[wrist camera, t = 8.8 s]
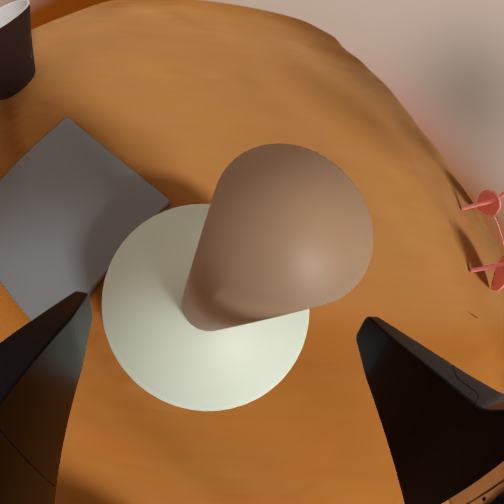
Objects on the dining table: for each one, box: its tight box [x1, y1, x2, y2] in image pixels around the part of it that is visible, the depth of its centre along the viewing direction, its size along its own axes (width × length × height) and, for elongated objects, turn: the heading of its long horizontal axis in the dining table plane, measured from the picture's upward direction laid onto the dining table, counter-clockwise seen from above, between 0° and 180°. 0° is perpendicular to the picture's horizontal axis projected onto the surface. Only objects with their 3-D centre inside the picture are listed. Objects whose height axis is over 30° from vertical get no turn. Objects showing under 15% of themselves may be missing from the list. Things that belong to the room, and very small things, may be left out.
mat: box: [0, 117, 170, 321], centre depth 19 cm, size 14×14×1 cm
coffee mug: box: [0, 0, 35, 100], centre depth 17 cm, size 12×9×10 cm
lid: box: [102, 144, 373, 411], centre depth 11 cm, size 12×12×13 cm
